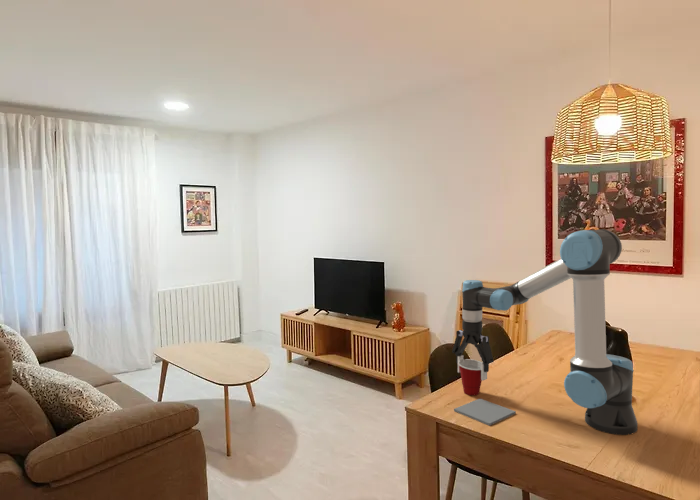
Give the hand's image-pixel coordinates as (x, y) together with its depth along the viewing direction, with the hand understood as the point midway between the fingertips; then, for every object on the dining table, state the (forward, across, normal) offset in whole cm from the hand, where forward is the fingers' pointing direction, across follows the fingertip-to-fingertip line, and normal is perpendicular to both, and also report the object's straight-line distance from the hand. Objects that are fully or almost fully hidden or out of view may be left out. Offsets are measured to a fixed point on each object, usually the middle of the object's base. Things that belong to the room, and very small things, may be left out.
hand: (472, 375), depth 181 cm
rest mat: (+7, -14, +11) cm, 19 cm away
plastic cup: (+7, 0, 0) cm, 7 cm away
